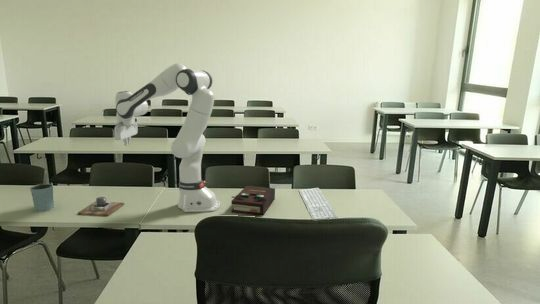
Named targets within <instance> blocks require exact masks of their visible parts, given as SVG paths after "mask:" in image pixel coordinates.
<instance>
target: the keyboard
mask: <svg viewBox="0 0 540 304" xmlns="http://www.w3.org/2000/svg"><path fill="white" fill-rule="evenodd" d="M298 192H299V194H300V196H301V199H302V201H303V203H304V205H305V206H306V209H307V211H308V213H309V215H310V217H311V220H313V219H326V218H337V219H338V215H337V213H336V212H335V210H334V209H333V208H332V206H331V204H330V203H329V201H328V200H327V199H326V197H325V194H323V192H322V190H321V189H320V188H319V187H314V188H304V189H303V188H302V189H298Z"/></svg>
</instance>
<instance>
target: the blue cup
mask: <svg viewBox="0 0 540 304" xmlns="http://www.w3.org/2000/svg"><path fill="white" fill-rule="evenodd" d="M29 190H30V193H31V197H32V202H33V207H34V211H35V210H36V211H35V212H47V210H48V211H51V210H53V209H54V206H55V204H54V202H55V201H54V184H52V183H39V184H34V185H32V186H30V187H29ZM52 208H53V209H52ZM50 209H51V210H50Z"/></svg>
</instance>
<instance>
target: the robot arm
mask: <svg viewBox="0 0 540 304" xmlns="http://www.w3.org/2000/svg"><path fill="white" fill-rule="evenodd" d="M212 85H213V77H212V75H211V74H210V73H209V72H208V71H206V70H201V69H197V68H187V67H186V66H185V65H184V64H183V63H181V62H177V63H174V64H172V65H170V66H168V67H167V68H166V69H164V70H162V72H161V73H159V74H158V75H156V77H154V78H153V79H152V80H151V81H149V82H148V83H147V84H146V85H144V86H142V87H141V88H140V89H138V90H137V91H136V92H134V93H133V92H132V91H130V90H125V91H124V90H123V91H119V92H116V94H115V98H114V99H115V101H114V102H115V110H116V115H115V116H116V124H115V126H114V132H113V133H114V135H113V136H114V141H123V143H124V144H123V145H124V146H126V147H127V146H129V145H131V139H132V137H133V136H135V135H137V134H138V131H139V130H138V129H139V128H138V122H139V119H138V116H144V115H146V114H147V113H148V111H149V103H148V101H149V100H151V99H155V98H158V97H165V96H168V95H170V94H172V93H174V92H176V91H177V90H178V89H180V90H181V91H183V92H184V93H185V94H186V95H187V96H191V102H190V104H189V108H188V110H187V111H188V112H187V114H186V117H185V120H184V122H183V124H182V126H181V128H180V130H179V132H178V133H177V136H175V139H174V140H173V142H172V143H171V145H170V150H171V153H172V155H174V156H175V158H179V159H181V162H180V163H179V167H178V169H179V181H178V190H179V198H178V203H177V208H178V209H180V210H182V211H183V212H185V213H188V212H189V213H191V212H192V213H198V212H199V213H201V212H202V213H203V212H204V213H205V212H215V211H217V210H218V209H219V208H220V206H221V201H220V200H218V199H217V197H216V194H215V192H213V191H212V190H211V189H210V188H208V187H206V180H203V179H202V159H203V153H204V148H205V145H206V143H207V142H206V141H207V140H206V137H205V135H204V134H203V133H204V132H205V130H206V129H207V127H208V123H209V121H210V118H211V115H212V113H213V109H214V104H215V94H214V92H213V91H211V90H210V89H211V88H212Z"/></svg>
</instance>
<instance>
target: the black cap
mask: <svg viewBox="0 0 540 304" xmlns="http://www.w3.org/2000/svg"><path fill="white" fill-rule="evenodd" d="M95 199H96V200H95V201H96V202H97V207H105V206H106V202H107V198H106V196H99V197H96V198H95Z"/></svg>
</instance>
